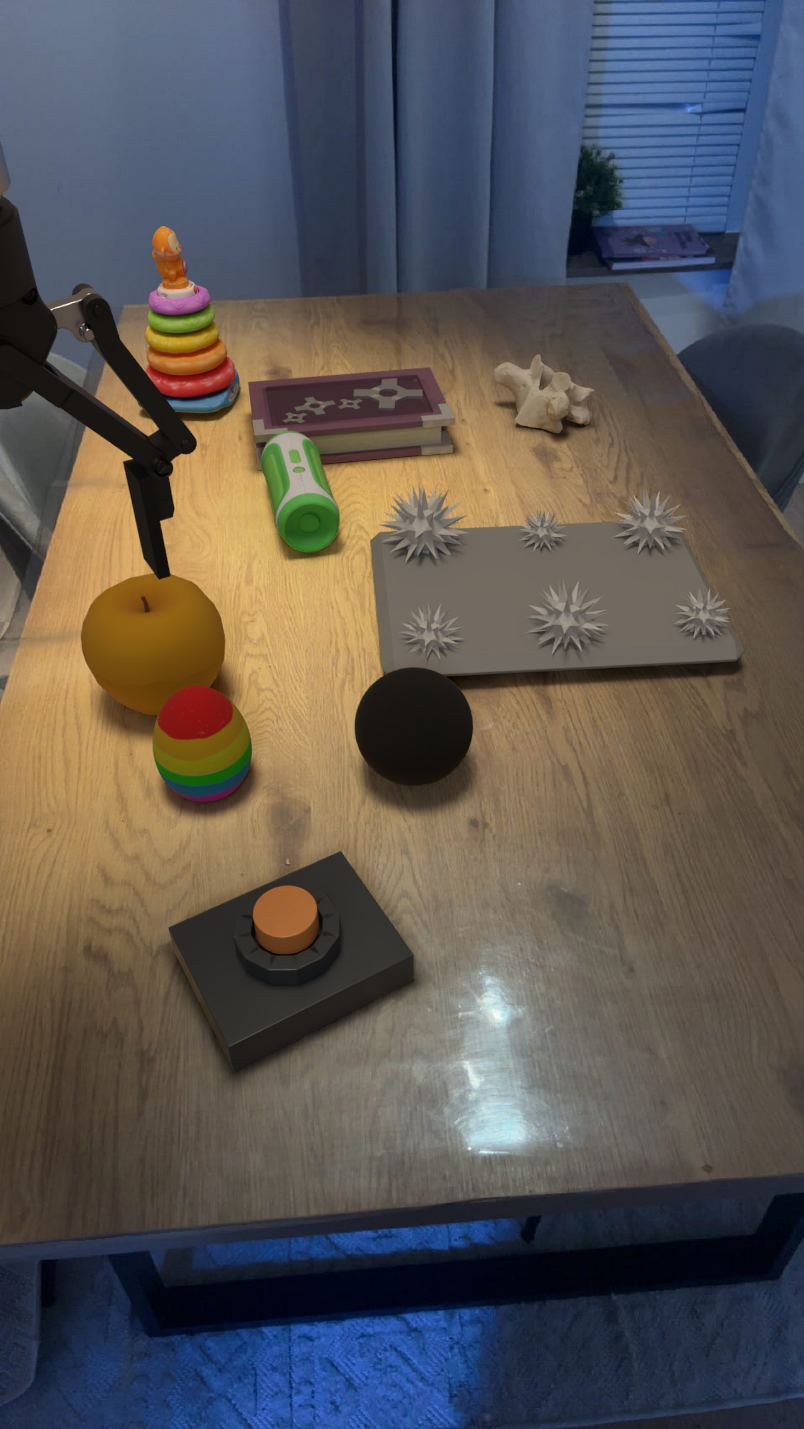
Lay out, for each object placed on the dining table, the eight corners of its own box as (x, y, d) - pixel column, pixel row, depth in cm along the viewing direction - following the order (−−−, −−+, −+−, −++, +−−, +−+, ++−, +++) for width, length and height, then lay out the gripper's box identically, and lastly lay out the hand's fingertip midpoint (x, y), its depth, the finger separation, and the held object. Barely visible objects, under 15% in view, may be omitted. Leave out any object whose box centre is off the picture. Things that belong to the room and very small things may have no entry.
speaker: (344, 553, 114) (341, 494, 109) (280, 561, 113) (274, 502, 108) (320, 478, 127) (316, 422, 122) (262, 485, 126) (255, 429, 121)
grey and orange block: (234, 1072, 68) (224, 1032, 64) (174, 953, 75) (163, 911, 71) (414, 980, 73) (414, 938, 69) (342, 876, 80) (339, 834, 76)
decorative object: (555, 451, 134) (557, 398, 128) (475, 414, 141) (473, 362, 135) (595, 419, 138) (599, 366, 132) (515, 384, 145) (516, 333, 138)
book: (258, 472, 129) (254, 435, 125) (251, 416, 140) (247, 381, 137) (454, 454, 132) (455, 418, 128) (430, 400, 143) (430, 366, 140)
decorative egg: (246, 738, 92) (232, 652, 85) (265, 801, 86) (252, 713, 79) (155, 759, 90) (134, 672, 83) (168, 824, 84) (147, 736, 77)
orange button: (272, 965, 68) (269, 947, 67) (245, 919, 71) (242, 901, 70) (330, 937, 70) (328, 919, 69) (302, 893, 73) (299, 875, 71)
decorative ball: (339, 794, 86) (333, 707, 80) (379, 720, 93) (376, 633, 87) (451, 822, 84) (454, 734, 77) (484, 743, 91) (489, 656, 84)
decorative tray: (383, 693, 96) (380, 608, 90) (369, 546, 115) (366, 467, 109) (744, 673, 98) (768, 588, 91) (671, 532, 117) (687, 453, 110)
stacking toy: (226, 423, 139) (202, 244, 123) (135, 419, 140) (100, 241, 124) (247, 381, 149) (227, 211, 133) (162, 378, 150) (133, 209, 134)
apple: (76, 730, 93) (45, 630, 85) (127, 644, 102) (104, 547, 95) (210, 745, 91) (191, 645, 84) (250, 656, 101) (237, 559, 93)
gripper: (-403, 283, 37) (-178, 711, 52) (223, 183, 47) (268, 569, 61) (-402, 230, 42) (-196, 634, 56) (165, 148, 51) (220, 514, 66)
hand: (45, 601), depth 59 cm, fingers open, 13 cm apart
